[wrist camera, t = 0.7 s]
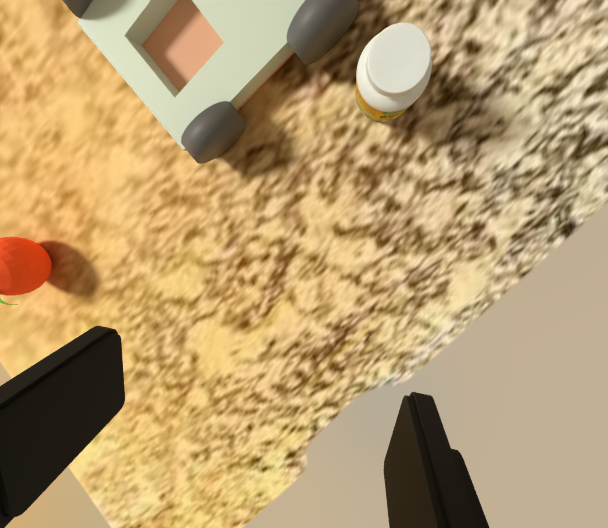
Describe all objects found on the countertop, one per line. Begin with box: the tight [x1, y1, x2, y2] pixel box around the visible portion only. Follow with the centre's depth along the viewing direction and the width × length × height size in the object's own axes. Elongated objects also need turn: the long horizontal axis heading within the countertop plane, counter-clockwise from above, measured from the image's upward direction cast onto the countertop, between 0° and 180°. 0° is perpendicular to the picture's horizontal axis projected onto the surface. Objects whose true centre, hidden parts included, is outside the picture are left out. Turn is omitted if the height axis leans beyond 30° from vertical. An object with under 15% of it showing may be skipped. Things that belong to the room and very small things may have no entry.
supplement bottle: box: [356, 23, 432, 122], centre depth 24 cm, size 5×5×10 cm
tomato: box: [0, 237, 52, 305], centre depth 37 cm, size 8×7×7 cm
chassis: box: [63, 0, 360, 163], centre depth 26 cm, size 20×18×6 cm
